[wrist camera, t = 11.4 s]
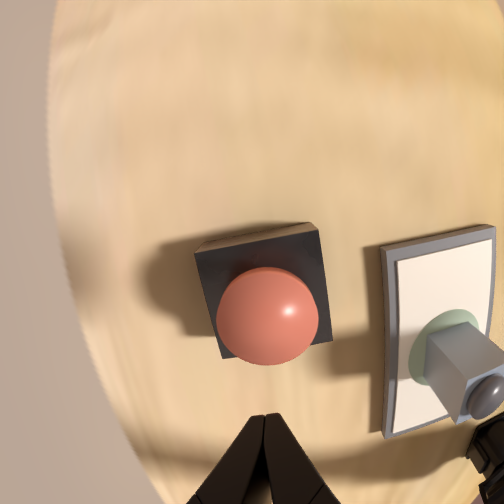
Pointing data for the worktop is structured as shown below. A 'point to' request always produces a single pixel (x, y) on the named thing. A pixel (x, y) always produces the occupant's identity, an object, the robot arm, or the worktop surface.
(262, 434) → the robot arm
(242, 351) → the button
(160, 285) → the worktop surface
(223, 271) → the button housing
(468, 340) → the grey rectangular block
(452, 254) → the drawing board
